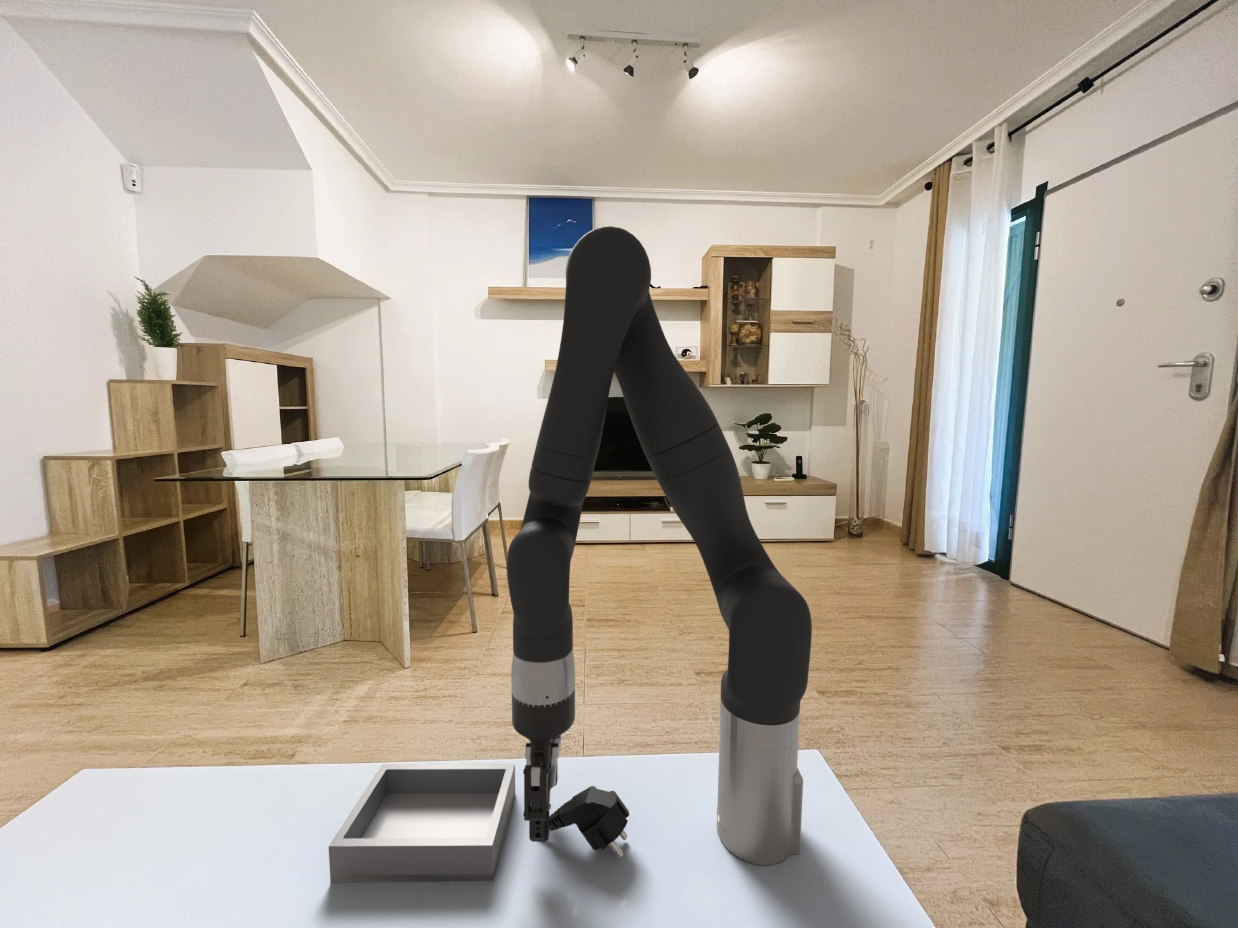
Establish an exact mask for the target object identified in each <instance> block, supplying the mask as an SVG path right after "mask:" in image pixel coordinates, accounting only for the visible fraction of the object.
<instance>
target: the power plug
mask: <svg viewBox="0 0 1238 928" xmlns="http://www.w3.org/2000/svg"><path fill="white" fill-rule="evenodd" d="M629 817H630V810H629V809H628V807H627V806H626V805H625V804H624V802H623V801H622V799H621V797H620V796H618V793H616V791H615V790H610V791H608V790H604V789H599V788H597V786H595V785H591V786H589V787H587V788H586V789H584V790H582V791H580V792H579V793H577V794H575V795H574V796H572V798H571V799H569V800H568V801H566V802H565V803H563V805H561V806H559V808H557V809H556V810H555V811H554V812H553V813H551V814H549V829H550V832H554V831H556V830H559V829H562V828H565V827H570V826H572V825H576V827H577V829H578V830H579V832H580V833H581V835H582V836H583V838H585V840H586V841H587V843H588V845H589V846H590V848H592V850H594V851H598V850H601V851H602V850H605V849H607V848H608V846H609V847H610V848H611V850H612V852H613V853H614V854H615V856H616V857H617V858H618V859H622V858H623V856H624V852H623V851H622V849H621V848H620V846H619V845H618V843H617V842H616V840H617V839H618V837H620V838H621V840H623V841H626V840H628V833H627V832H626V831H625V828H626V826H627V824H628V822H629V821H628V819H627V818H629Z"/></svg>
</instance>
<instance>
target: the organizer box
mask: <svg viewBox="0 0 1238 928" xmlns="http://www.w3.org/2000/svg"><path fill="white" fill-rule="evenodd" d="M515 798H516V764H515V763H386V764H385V763H382V764H381V766H380V767H379V768H378V770H377V772H376V773H375V774H374V776H373V777H372V779H371V781H370V782H369V783H368V785H367V787H366V788H365V790H364V791H363V793H362V795H361V796H360V797H359V799H358V801H357V802H356V803H355V805H354V807H353V808H352V809H351V811H350V813H349V814H348V815H347V818H346V819H345V820H344V822H343V823H342V825H341V826H340V828H339V829H338V831H337V832H336V834H335V835H334V837H333V838H332V840H331V841H330V843H329V845H328V860H329V861H328V862H329V876H330V877H329V879H330V884H371V883H373V884H374V883H375V884H377V883H378V884H380V883H381V884H382V883H387V884H388V883H389V884H390V883H443V882H444V883H445V882H446V883H447V882H448V883H450V882H453V883H454V882H455V883H456V882H493V881H494V879H495V875H496V872H497V871H496V870H497V867H498V863H499V860H500V856H501V852H502V848H503V845H504V840H505V837H506V833H507V829H508V825H509V821H510V818H511V813H512V809H513V805H514V802H515Z"/></svg>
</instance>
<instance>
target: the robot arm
mask: <svg viewBox="0 0 1238 928" xmlns="http://www.w3.org/2000/svg"><path fill="white" fill-rule="evenodd" d="M650 262H651V261H650V257H649V256H648V254H647V251H646V249H645V247H644V246H643V244H642V243H641V241H640V240H639V239H638V238H637V237H636V236H635V235H634V234H632V233H631V232H630V231H629V230H626V229H624V228H622V227H618V226H611V225H610V226H609V225H608V226H600V227H596V228H593V229H592V230H590V231H588V232H586V233H585V234H584V235H583V236H581V238H579V239H578V241H577V242H576V243H575V245H573V247H572V249H571V251H570V253H569V255H568V259H567V262H566V266H565V267H566V268H565V293H564V294H565V297H564V309H563V310H564V312H563V321H562V330H561V336H560V344H559V349H558V355H557V361H556V366H555V371H554V375H553V379H552V383H551V387H550V391H549V395H548V398H547V403H546V406H545V411H544V414H543V417H542V418H543V419H542V421H541V425H540V429H539V433H538V437H537V441H536V445H535V448H534V449H535V450H534V454H533V458H532V462H531V467H530V470H529V476H528V490H529V496H528V498H527V499H528V500H527V504H526V507H525V511H524V515H523V519H522V522H521V525H520V529H519V531H518V532H517V533H516V535H514V537H513V539H512V540H511V542H510V544H509V546H508V547H509V548H508V550H507V557H506V558H507V559H506V576H507V584H508V585H507V586H508V593H509V598H510V599H509V600H510V604H511V608H512V612H513V613H512V614H513V620H512V661H511V668H510V670H511V672H510V673H511V681H510V682H511V723H512V724H511V725H512V727H513V729H514V730H515V732H516V733H517V734H519V735H520V736H522V737H524V738H526V739H527V740H528V741H529V742H526V743H525V749H524V758H525V761H526V763H525V765H524V768H523V771H522V772H523V773H522V774H523V788H524V789H523V790H524V791H523V792H524V793H523V803H524V804H523V808H524V809H523V810H524V811H523V814H522V815H523V820H524V821H525V822H528V825H529V826H528V833H529V834H528V835H529V836H528V837H529V840H530V841H531V842H533V843H534V842H535V843H536V842H537V843H538V842H539V843H540V842H547V841H548V840H549V838H550V832H551V831H550V829H549V816H550V811H551V809H552V804H551V796H552V795H551V794H552V792H551V791H552V789H553V788H554V787H556V786H557V785H558V780H559V779H558V778H559V777H558V776H559V775H558V759H559V758H560V751H561V749H562V735H564V734H565V733H566V732H567V731H568V730H569V729H570V728H572V726H573V724H574V722H575V721H576V720H575V718H576V663H575V655H574V646H573V644H574V643H573V641H574V635H573V634H574V631H573V630H574V629H573V628H574V622H573V621H574V619H573V618H574V617H573V611H572V607H571V604H570V578H571V577H570V576H571V575H570V574H571V572H570V571H571V562H572V559H573V554H574V551H575V546H576V540H577V536H578V531H579V527H580V522H581V521H580V520H581V518H582V517H581V516H582V511H583V505H584V501H585V499H586V497H587V495H588V492H589V490H590V486H591V482H592V478H593V474H594V471H595V466H596V463H597V458H598V454H599V452H600V451H599V450H600V446H601V441H602V436H603V431H604V425H605V419H606V413H607V407H608V402H609V401H608V400H609V398H610V391H611V386H612V381H613V378H614V377H613V376H614V375H615V377H616V379H617V381H618V385H619V388H620V391H621V393H622V396H623V400H624V402H625V406H626V409H627V412H628V414H629V417H630V420H631V424H632V426H633V428H634V431H635V433H636V436H637V439H638V441H639V444H640V446H641V449H642V451H643V453H644V455H645V457H646V460H647V462H648V464H649V466H650V468H651V471H652V473H653V474H654V477H655V478H656V481H657V483H658V485H659V486H660V488H661V490H662V492H663V494H664V495H665V498H666V499H667V500H668V503H669V504H670V506H671V508H672V509H673V511H674V512H675V514H676V516H677V517H678V519H679V521H681V523H682V525H683V526H684V528H685V530H687V532H688V534H689V535H690V536H691V538H692V540H693V541H694V543H695V546H696V548H697V549H698V552H699V553H700V556H701V560H702V561H703V563H704V566H705V570H706V572H707V575H708V578H709V580H710V583H711V586H712V590H713V592H714V596H715V598H716V599H715V600H716V602H717V607H718V609H719V613H720V615H721V618H722V619H723V621H724V623H725V626H726V627H727V629H728V635H729V636H728V660H727V669H726V670H725V671H724V672H723V674H722V676H721V681H720V705H719V706H720V707H719V709H720V710H719V711H720V712H719V715H720V716H719V743H718V744H719V745H718V775H717V776H718V779H717V806H716V807H717V808H716V830H717V834H718V837H719V839H720V841H721V842H722V844H723V846H724V848H726V849H727V850H728V851H729V852H730V853H732V854H733V855H734V856H736V858H739V859H741V861H744V862H747V863H750V864H752V865H757V866H758V865H759V866H772V865H778V864H780V863H782V862H784V861H785V860H786V859H787V858H789V857H790V856H791V855H797V854H798V855H800V853H801V840H802V839H801V838H802V837H801V836H802V818H803V817H802V816H803V798H804V797H803V795H804V794H803V793H804V791H803V790H804V779H803V775H802V774H801V771H800V770H799V768H798V760H799V759H798V757H799V755H798V754H799V737H800V736H799V735H800V733H799V732H800V731H799V730H800V713H801V712H800V711H801V701H802V699H803V698H804V695H805V693H806V691H807V688H808V682H809V672H810V671H809V669H810V663H811V662H810V660H811V650H812V649H811V648H812V635H813V634H812V633H813V631H812V630H813V629H812V628H813V625H812V616H811V615H812V614H811V610H810V607H809V605H808V603H807V601H806V599H805V598H804V596H803V595H802V594H801V593H800V592H799V591H798V590H797V588H795V587H794V586H793V585H792V584H791V583H790V582H789V581H788V580H787V579H786V578H785V577H784V576H783V575H782V574H781V573H780V571H779V569H778V568H777V567H776V566H775V564H774V563H773V560H771V558H770V555H768V553H767V551H766V549H765V548H764V545H763V544H762V542H761V539H759V537H758V535H757V533H756V531H755V529H754V527H753V524H752V522H751V520H750V517H749V513H748V511H747V506H746V501H745V495H744V492H743V491H744V490H743V487H742V482H741V477H740V473H739V470H738V467H737V464H736V463H737V462H736V461H735V458H734V454H733V452H732V450H731V448H730V446H729V443H728V441H727V439H726V436H725V434H724V432H723V429H722V427H721V426H720V423H719V422H718V420H717V417H716V416H715V413H714V411H713V410H712V408H711V406H710V405H709V402H708V401H707V400H706V398H705V396H704V395H703V393H702V391H700V389H699V388H698V386H697V385H696V384H695V382H694V381H693V379H692V378H691V377H690V375H689V374H688V372H687V371H686V370H685V368H684V366H682V364H681V363H680V361H679V360H678V358H677V357H676V355H675V354H674V352H673V350H672V348H671V346H670V345H669V343H668V340H667V338H666V336H665V334H664V331H663V328H662V326H661V323H660V320H659V318H658V315H657V312H656V309H655V306H654V302H653V301H652V300H653V299H652V297H651V293H650V288H651V282H652V267H651V263H650Z"/></svg>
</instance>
